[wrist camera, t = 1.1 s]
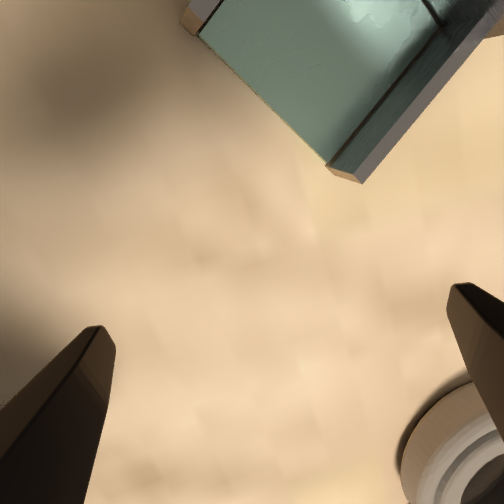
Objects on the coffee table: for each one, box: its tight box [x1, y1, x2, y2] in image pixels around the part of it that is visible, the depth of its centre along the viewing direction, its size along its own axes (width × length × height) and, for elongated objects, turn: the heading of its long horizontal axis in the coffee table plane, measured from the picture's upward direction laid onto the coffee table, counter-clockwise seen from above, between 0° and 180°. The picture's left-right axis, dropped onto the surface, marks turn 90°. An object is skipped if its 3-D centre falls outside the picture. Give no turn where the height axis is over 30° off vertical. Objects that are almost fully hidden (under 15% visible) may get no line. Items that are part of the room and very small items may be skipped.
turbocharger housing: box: [401, 382, 504, 504], centre depth 33 cm, size 17×6×15 cm
